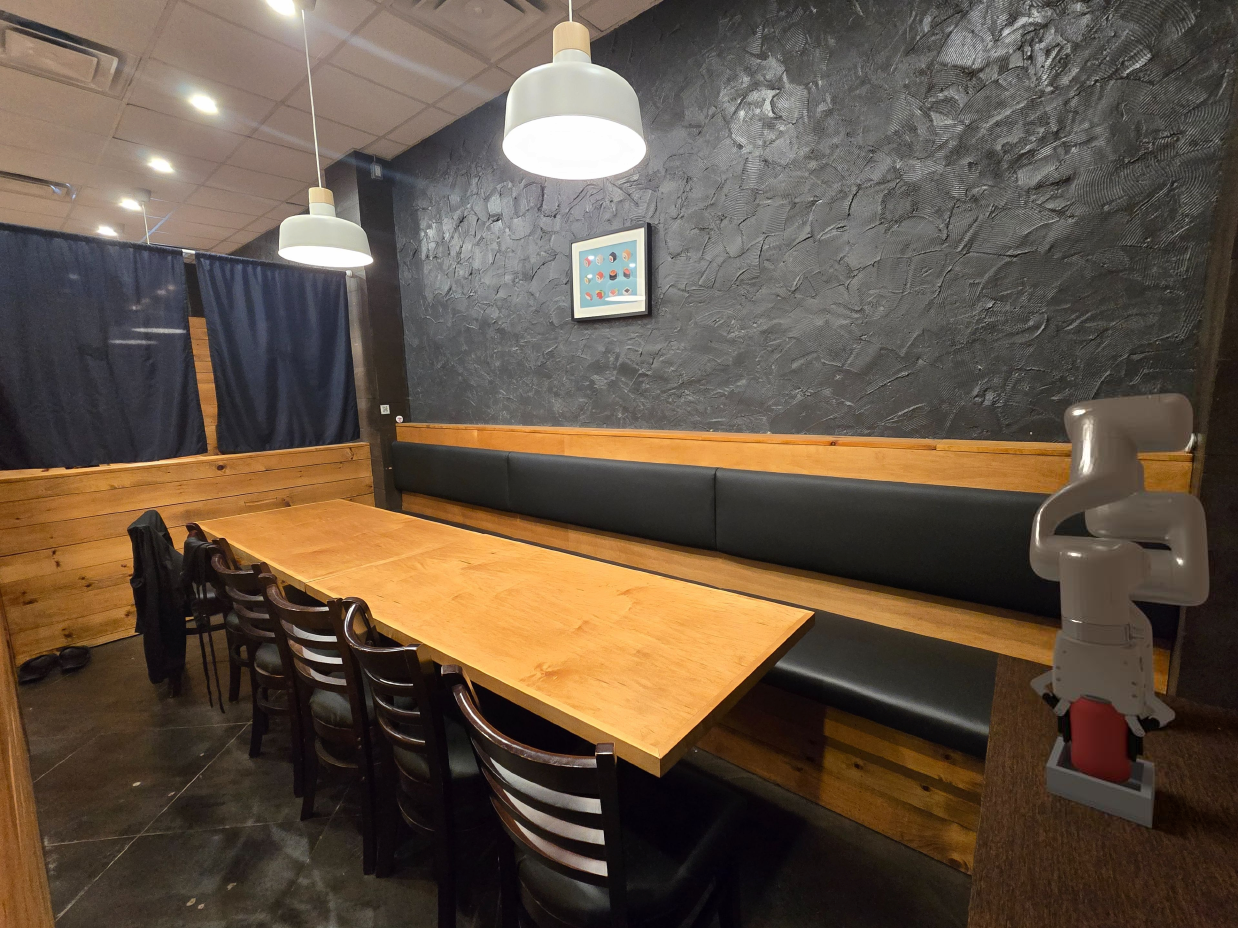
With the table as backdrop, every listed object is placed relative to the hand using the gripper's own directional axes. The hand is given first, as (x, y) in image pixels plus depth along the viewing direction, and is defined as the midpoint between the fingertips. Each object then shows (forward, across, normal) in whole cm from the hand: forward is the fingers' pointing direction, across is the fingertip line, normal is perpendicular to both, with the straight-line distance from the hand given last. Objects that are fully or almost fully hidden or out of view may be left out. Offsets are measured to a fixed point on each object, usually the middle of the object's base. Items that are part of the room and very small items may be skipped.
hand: (1099, 747), depth 78 cm
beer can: (+4, 0, 0) cm, 4 cm away
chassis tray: (+7, 0, 0) cm, 7 cm away
